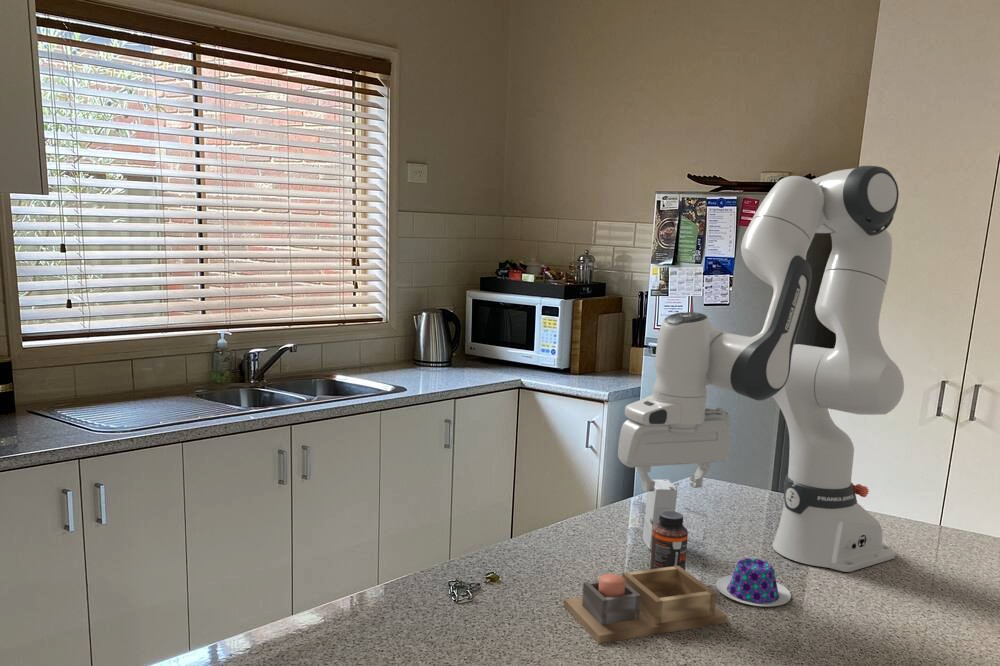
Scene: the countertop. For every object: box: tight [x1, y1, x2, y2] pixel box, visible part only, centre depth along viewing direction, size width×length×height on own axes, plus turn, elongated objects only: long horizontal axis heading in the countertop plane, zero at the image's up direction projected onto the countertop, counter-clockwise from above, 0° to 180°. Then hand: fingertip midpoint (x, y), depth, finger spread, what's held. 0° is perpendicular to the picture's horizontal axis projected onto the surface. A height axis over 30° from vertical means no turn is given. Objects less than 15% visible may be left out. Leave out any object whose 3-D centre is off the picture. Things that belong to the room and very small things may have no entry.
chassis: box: [563, 566, 728, 644], centre depth 129 cm, size 22×12×5 cm, turn 111°
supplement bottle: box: [649, 511, 689, 571], centre depth 142 cm, size 6×6×11 cm
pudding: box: [716, 557, 792, 607], centre depth 138 cm, size 12×12×5 cm
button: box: [598, 573, 626, 598], centre depth 126 cm, size 4×4×3 cm
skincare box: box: [642, 478, 678, 551], centre depth 156 cm, size 6×4×12 cm
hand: (672, 488), depth 141 cm, fingers open, 8 cm apart
